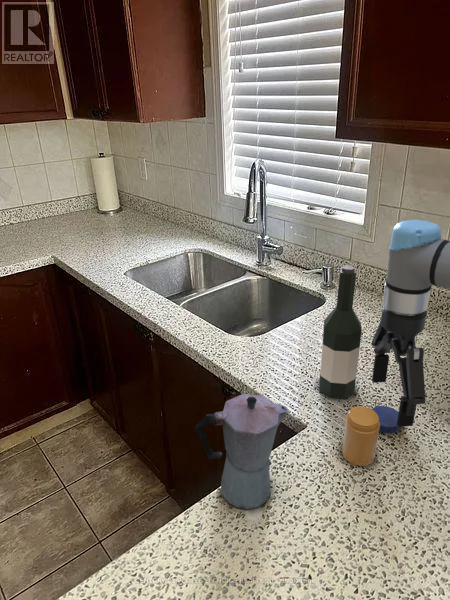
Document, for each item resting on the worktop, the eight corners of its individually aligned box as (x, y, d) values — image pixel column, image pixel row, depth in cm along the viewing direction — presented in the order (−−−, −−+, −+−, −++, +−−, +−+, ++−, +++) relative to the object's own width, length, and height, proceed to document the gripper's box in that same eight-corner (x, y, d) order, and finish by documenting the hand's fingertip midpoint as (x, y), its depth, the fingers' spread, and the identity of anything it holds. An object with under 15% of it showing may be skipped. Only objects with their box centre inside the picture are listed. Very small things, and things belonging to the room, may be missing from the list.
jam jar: (377, 448, 86) (383, 410, 82) (371, 470, 81) (377, 431, 77) (346, 438, 89) (350, 401, 84) (338, 459, 84) (342, 421, 80)
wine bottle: (326, 401, 99) (337, 277, 85) (312, 379, 106) (320, 262, 92) (361, 396, 100) (378, 272, 86) (345, 374, 107) (357, 257, 94)
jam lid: (367, 410, 96) (368, 403, 95) (399, 414, 94) (400, 407, 94) (369, 431, 90) (370, 424, 89) (403, 435, 89) (404, 429, 88)
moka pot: (296, 500, 76) (301, 409, 67) (208, 525, 72) (202, 432, 63) (274, 459, 84) (277, 373, 75) (195, 480, 81) (187, 391, 72)
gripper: (461, 342, 69) (439, 445, 78) (398, 278, 91) (386, 365, 101) (413, 345, 69) (396, 448, 78) (361, 281, 91) (353, 367, 101)
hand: (390, 401), depth 89 cm, fingers open, 13 cm apart
